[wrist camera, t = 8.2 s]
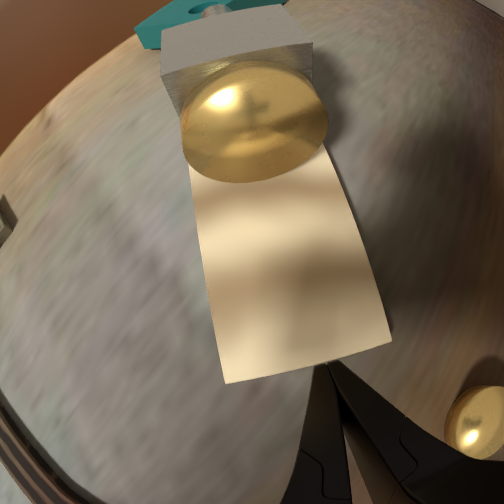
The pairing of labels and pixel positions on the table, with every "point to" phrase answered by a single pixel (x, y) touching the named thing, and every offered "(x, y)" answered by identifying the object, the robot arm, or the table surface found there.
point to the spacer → (476, 421)
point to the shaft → (251, 120)
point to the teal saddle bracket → (186, 16)
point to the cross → (29, 450)
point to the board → (285, 271)
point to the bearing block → (230, 46)
